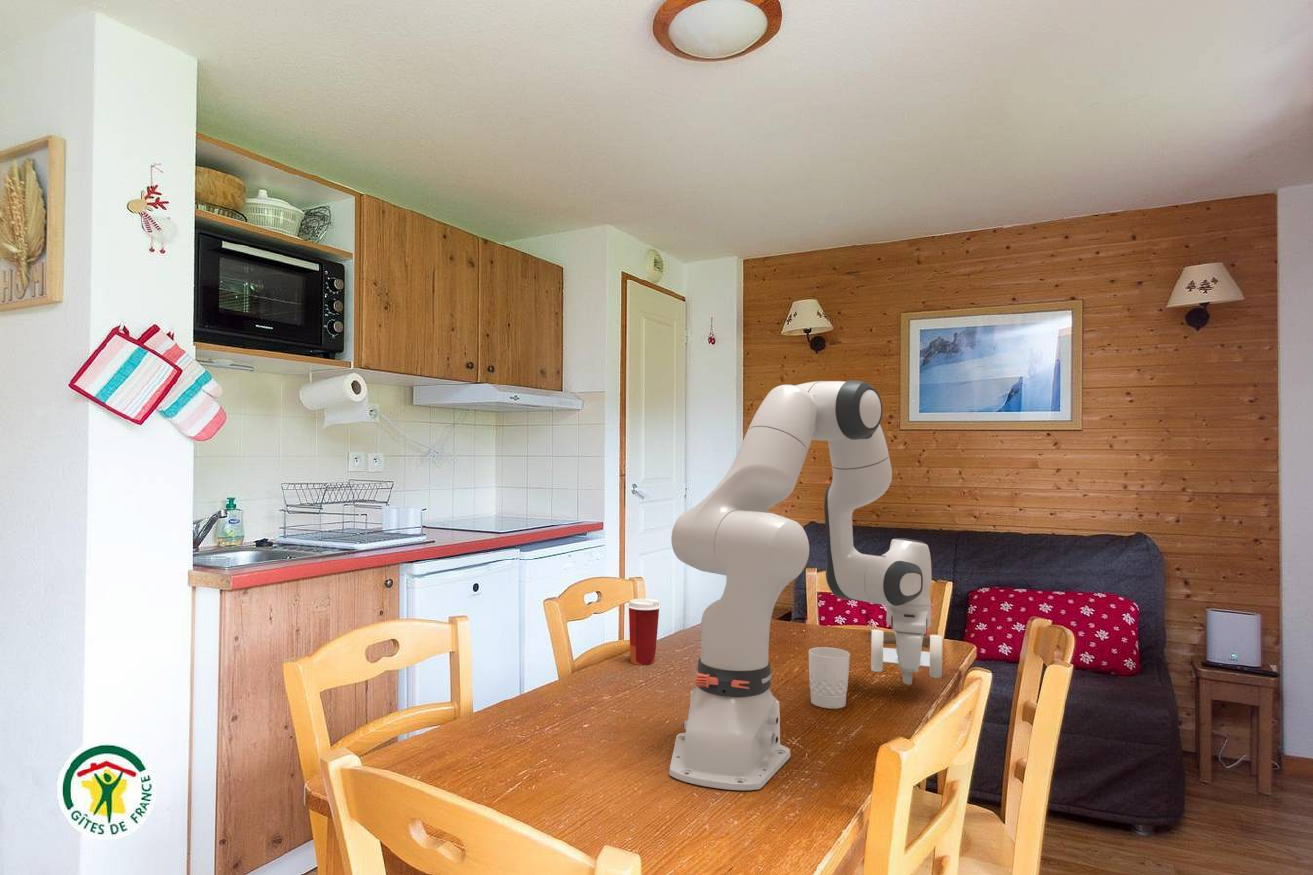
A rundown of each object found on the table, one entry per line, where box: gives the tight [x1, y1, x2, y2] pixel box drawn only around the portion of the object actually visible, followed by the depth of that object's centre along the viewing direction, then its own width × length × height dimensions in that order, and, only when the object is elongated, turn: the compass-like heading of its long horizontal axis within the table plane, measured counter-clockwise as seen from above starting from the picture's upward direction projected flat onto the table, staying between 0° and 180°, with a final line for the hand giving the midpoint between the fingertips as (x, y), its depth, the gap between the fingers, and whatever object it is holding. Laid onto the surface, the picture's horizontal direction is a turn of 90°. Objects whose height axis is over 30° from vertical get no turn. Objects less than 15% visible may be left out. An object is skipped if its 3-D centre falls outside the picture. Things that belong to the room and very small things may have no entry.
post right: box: [928, 634, 943, 679], centre depth 168 cm, size 3×3×9 cm
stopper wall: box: [867, 629, 930, 646], centre depth 198 cm, size 2×18×2 cm, turn 73°
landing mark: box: [883, 647, 930, 668], centre depth 184 cm, size 14×14×1 cm
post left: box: [870, 628, 885, 673], centre depth 172 cm, size 3×3×9 cm
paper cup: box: [626, 597, 662, 666], centre depth 174 cm, size 8×8×14 cm
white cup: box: [808, 646, 851, 710], centre depth 148 cm, size 8×8×10 cm
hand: (907, 682), depth 157 cm, fingers closed
